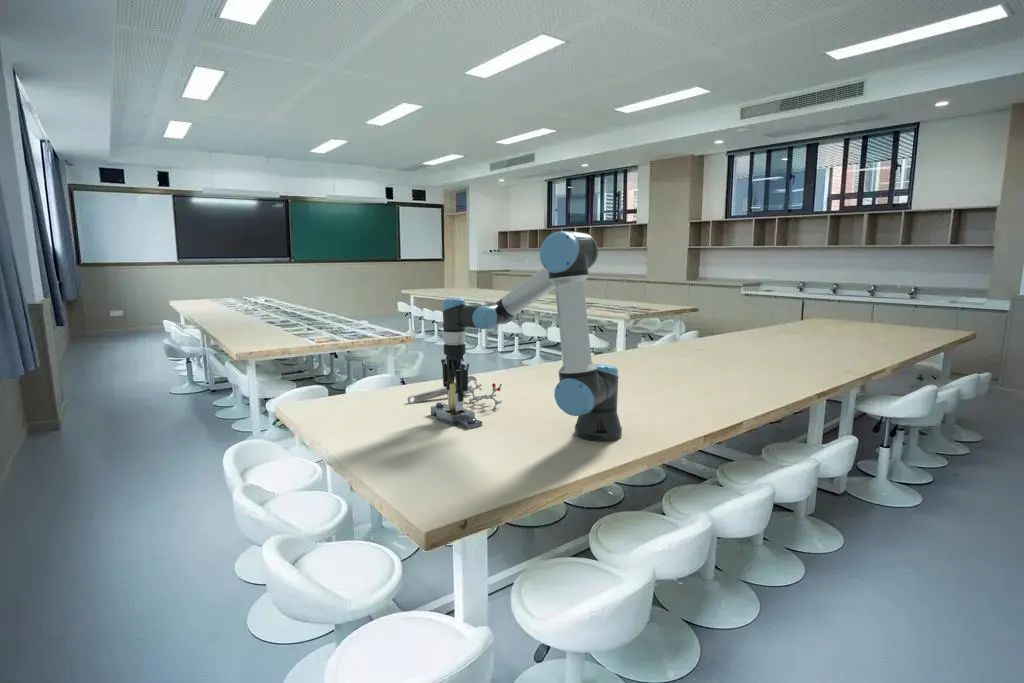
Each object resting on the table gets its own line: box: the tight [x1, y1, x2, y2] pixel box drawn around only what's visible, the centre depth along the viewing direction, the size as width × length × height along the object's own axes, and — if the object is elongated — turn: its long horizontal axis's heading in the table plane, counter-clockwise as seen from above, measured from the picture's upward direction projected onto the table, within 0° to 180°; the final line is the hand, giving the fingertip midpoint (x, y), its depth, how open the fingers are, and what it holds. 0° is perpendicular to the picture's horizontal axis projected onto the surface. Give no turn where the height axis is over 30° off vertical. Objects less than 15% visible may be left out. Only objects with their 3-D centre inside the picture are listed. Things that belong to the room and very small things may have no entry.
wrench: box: [407, 374, 478, 404], centre depth 223 cm, size 8×2×30 cm
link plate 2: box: [436, 415, 483, 430], centre depth 192 cm, size 16×10×2 cm, turn 41°
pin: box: [449, 381, 461, 415], centre depth 193 cm, size 4×4×12 cm
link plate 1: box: [430, 401, 476, 422], centre depth 197 cm, size 16×10×4 cm, turn 41°
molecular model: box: [464, 381, 503, 410], centre depth 213 cm, size 19×10×10 cm, turn 34°
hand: (455, 408), depth 194 cm, fingers closed on pin, 4 cm apart
